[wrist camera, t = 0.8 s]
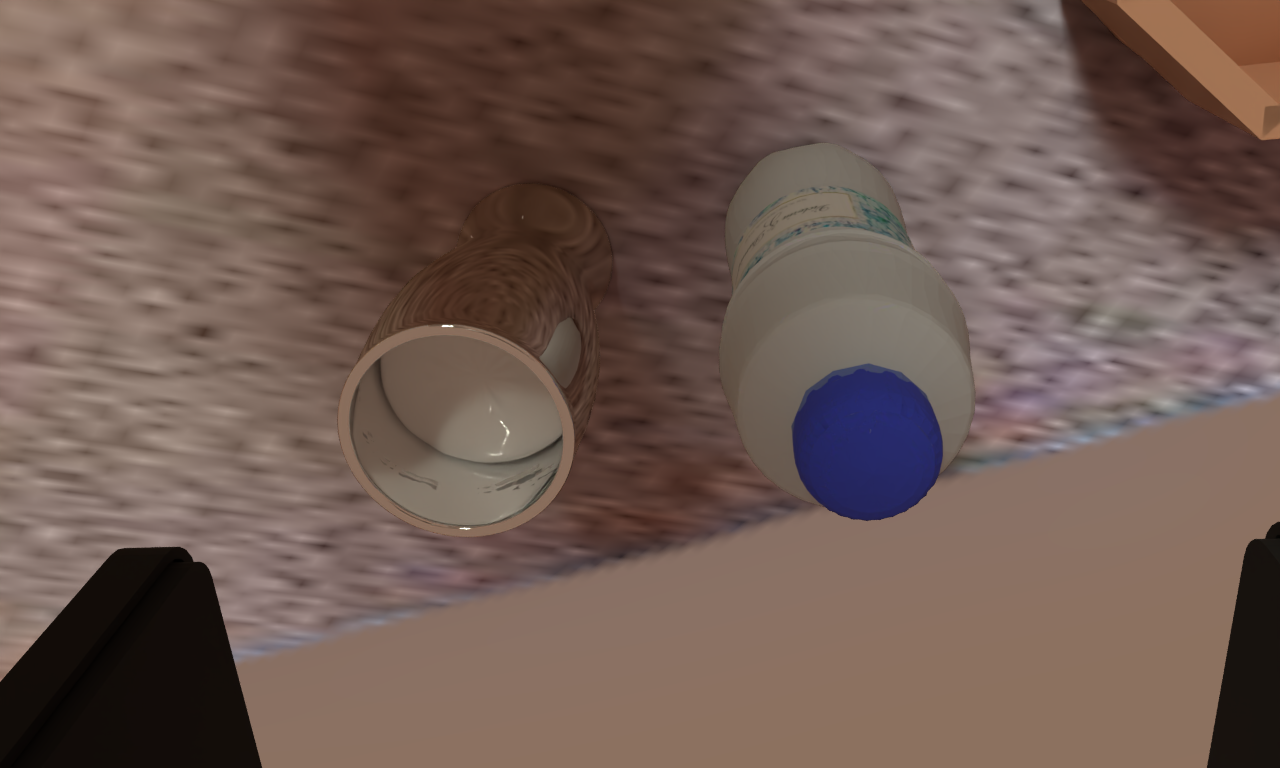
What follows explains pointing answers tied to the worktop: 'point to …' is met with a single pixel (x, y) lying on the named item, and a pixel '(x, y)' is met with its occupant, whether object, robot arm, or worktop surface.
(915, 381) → the bottle
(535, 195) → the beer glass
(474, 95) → the worktop surface
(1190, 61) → the bowl
